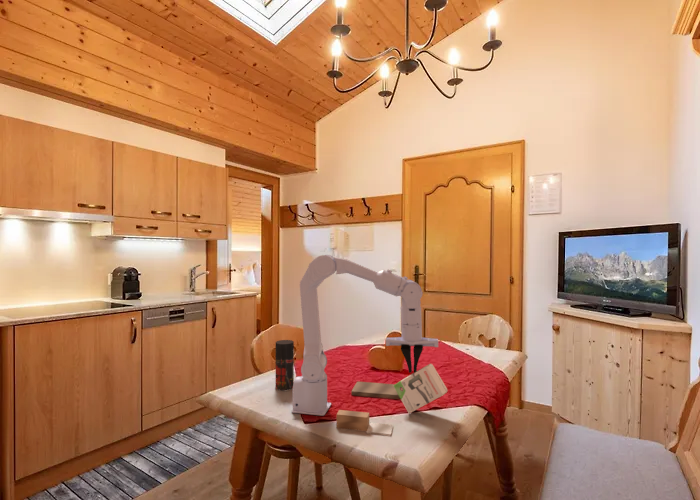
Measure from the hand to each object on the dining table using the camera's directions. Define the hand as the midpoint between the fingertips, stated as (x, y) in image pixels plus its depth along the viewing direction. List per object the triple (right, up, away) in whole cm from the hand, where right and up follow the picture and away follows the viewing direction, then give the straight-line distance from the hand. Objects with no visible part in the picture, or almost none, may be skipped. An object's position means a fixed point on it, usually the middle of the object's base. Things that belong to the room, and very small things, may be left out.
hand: (412, 371), depth 105 cm
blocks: (-13, -11, -10) cm, 20 cm away
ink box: (-3, -8, +1) cm, 8 cm away
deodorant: (-39, -11, +18) cm, 45 cm away
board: (-7, -11, +14) cm, 19 cm away
